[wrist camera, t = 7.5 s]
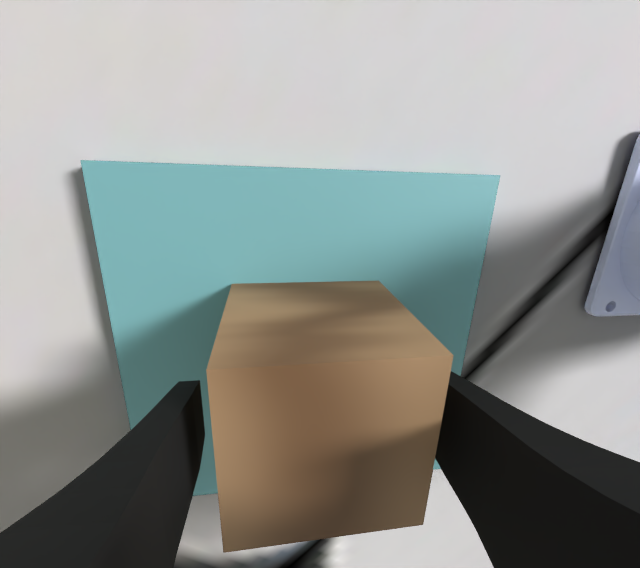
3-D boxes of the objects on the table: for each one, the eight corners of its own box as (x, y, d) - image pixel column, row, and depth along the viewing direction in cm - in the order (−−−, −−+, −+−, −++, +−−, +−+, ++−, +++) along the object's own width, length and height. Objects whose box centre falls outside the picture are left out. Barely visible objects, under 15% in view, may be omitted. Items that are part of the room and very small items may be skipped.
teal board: (486, 174, 13) (500, 175, 12) (434, 455, 17) (442, 468, 17) (93, 160, 11) (80, 160, 10) (149, 484, 15) (143, 501, 15)
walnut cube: (378, 280, 13) (453, 355, 8) (368, 399, 15) (422, 524, 9) (231, 283, 12) (206, 369, 7) (239, 409, 14) (223, 552, 9)
